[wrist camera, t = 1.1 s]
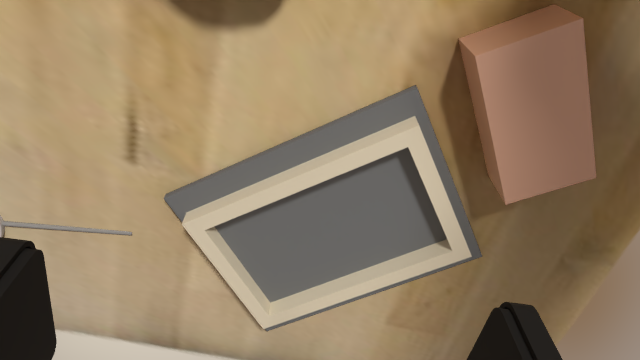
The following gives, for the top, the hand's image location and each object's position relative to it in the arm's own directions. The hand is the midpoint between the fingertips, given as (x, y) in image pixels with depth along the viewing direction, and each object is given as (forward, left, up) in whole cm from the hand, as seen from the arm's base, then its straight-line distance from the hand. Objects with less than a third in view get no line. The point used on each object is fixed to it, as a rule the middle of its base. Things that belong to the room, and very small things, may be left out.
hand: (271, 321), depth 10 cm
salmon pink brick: (-11, +11, -24) cm, 28 cm away
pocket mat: (+5, +15, -24) cm, 28 cm away
